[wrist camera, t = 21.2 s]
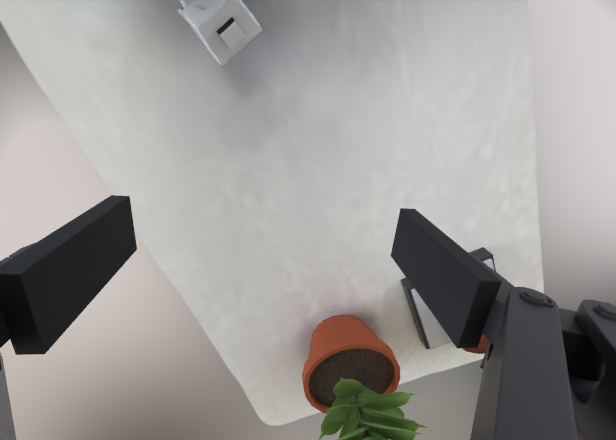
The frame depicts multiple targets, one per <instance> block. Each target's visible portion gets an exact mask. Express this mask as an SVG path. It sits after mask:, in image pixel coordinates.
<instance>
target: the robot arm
mask: <svg viewBox="0 0 616 440" xmlns="http://www.w3.org/2000/svg"><path fill="white" fill-rule="evenodd" d="M136 249H137V247H136V240H135V233H134V226H133V218H132V211H131V204H130V197H129V196H113V195H112V196H110V197H108V198H107V199H105V200H104V201H102V202H100V203H99V204H97V205H96V206H94V207H93V208H91V209H89V210H88V211H86V212H85V213H83V214H81V215H80V216H78V217H77V218H75V219H74V220H72V221H70V222H69V223H67V224H65V225H64V226H62V227H61V228H59V229H57V230H56V231H54V232H53V233H51V234H50V235H48V236H46V237H45V238H43V239H42V240H40V241H39V242H37V243H34V244H31V245H29V246H26V247H23V248H21V249H19V250H18V251H16V252H15V253H13V254H11V255H10V256H9V257H7V258H5V259H3V260H2V261H0V348H1V347H2V346H3V345H4V344H5V343H6V342H7V341H8V340H9V339H11V342H12V345H13V348H14V350H15V353H16V354H18V355H20V354H45V353H46V352H47V351H48V350H49V349H50V347H51V346H52V345H53V344H54V343H55V342H56V341H57V339H58V338H59V337H60V336H61V335H62V334H63V332H65V330H66V329H67V328H68V327H69V326H70V325H71V324H72V322H73V321H74V320H75V319H76V318H77V317H78V315H80V313H81V312H82V311H83V310H84V309H85V308H86V307H87V305H88V304H89V303H90V302H91V301H92V300H93V299H94V297H95V296H96V295H97V294H98V293H99V292H100V291H101V289H102V288H103V287H104V286H105V285H106V284H107V283H108V281H109V280H110V279H111V278H112V277H113V276H114V275H115V274H116V272H117V271H118V270H119V269H120V268H121V267H122V266H123V265H124V263H125V262H126V261H127V260H128V259H129V257H131V255H132V254H133V253H134V252H135V251H136ZM391 257H392V258H393V259H394V261H395V262H396V263H397V265H398V266H399V268H400V269H401V270H402V272H403V273H404V275H405V276H406V277H407V279H408V280H409V282H410V283H411V284H412V286H413V287H414V289H415V290H416V291H417V293H418V294H419V296H420V297H421V298H422V300H423V301H424V303H425V304H426V305H427V307H428V308H429V310H430V311H431V312H432V314H433V315H434V317H435V318H436V319H437V321H438V322H439V323H440V325H441V326H442V328H443V329H444V330H445V332H446V333H447V335H448V336H449V337H450V339H451V340H452V342H453V343H454V344H455V346H456V347H457V348H477V347H478V345H479V342H480V339H481V337H482V334H484V336H485V337H486V338H487V339H488V340H489V341H490V343H489V346H488V348H487V351H486V354H485V356H484V359H483V361H482V364H481V366H480V367H481V368H482V369H483V373H482V379H481V384H480V390H479V395H478V401H477V406H476V412H475V417H474V423H473V428H472V434H471V439H470V440H578V435H577V429H576V423H577V425H578V427H579V429H580V431H581V433H582V436H583V438H584V440H616V306H614V305H613V306H612V305H611V304H609V303H603V302H600V301H595V300H584V301H582V303H581V304H580V306H579V308H578V310H577V311H572V310H566V309H561V308H558V306H557V304H556V302H554V301H553V300H552V299H551V298H550V297H548V296H546V295H544V294H543V293H540V292H538V291H535V290H533V289H529V288H525V287H514V286H513V285H511V284H510V283H509V282H508V281H507V280H505V279H504V278H503V277H502V276H500V275H499V274H498V273H497V272H494V270H493V269H492V268H490V267H489V266H487V264H485V263H484V262H483V261H482V260H481V259H479V258H477V257H476V256H474V255H472V254H470V253H468V252H466V251H465V250H464V249H462V248H461V247H460V246H459V245H458V244H456V243H455V242H454V241H453V240H452V239H450V238H449V237H448V236H447V235H446V234H444V233H443V232H442V231H441V230H439V229H438V228H437V227H436V226H435V225H433V224H432V223H431V222H430V221H429V220H427V219H426V218H425V217H424V216H423V215H421V214H420V213H419V212H418V211H416V210H415V209H400V214H399V219H398V224H397V229H396V233H395V238H394V243H393V248H392V253H391ZM575 420H576V422H575ZM0 440H16V436H15V430H14V424H13V418H12V413H11V406H10V400H9V394H8V388H7V382H6V376H5V371H4V365H3V359H2V356H1V353H0Z"/></svg>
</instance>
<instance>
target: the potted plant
mask: <svg viewBox="0 0 616 440" xmlns="http://www.w3.org/2000/svg"><path fill="white" fill-rule="evenodd" d="M302 377H303V387H304V391H305V396H306V398H307V399H308V401H309V402H310V404H311V405H312V406H313V407H315V408H316V409H318V410H319V411H321V412H323V413H326V414H327V415H326V417H325V419H324V420H323V423H322V426H321V432H322V433H321V436H320V438H319V440H320V439H321V438H322V437H323V435H332V434H335V433H336V432H337V431H338V430H339V429H340V428H341V426H342V425H343V427H342V430H341V433H340V436H339V439H338V440H388V439H391V440H413V439H414V437H415V434H420V433H416V432H415V431H416V430H417V428H418V427H425V426H422V425H420V424H418V423H416V422H415V421H412V420H409V419H405V418H404V414H403V412H402V411H401V409H400V408H398V407H399V406H402V405H404V404H406V403H407V402H408V401H409V398H410V396H411V395H414V394H416V393H405V392H395V393H394V391H395V390H396V388H397V386H398V383H399V380H400V367H399V365H398V363H397V361H396V359H395V356H394V354H393V353H392V351H391V349H390V347H389V346H387V345H386V344H385V343H384V342H383V341H381V340H380V339H378V338H377V336H376V335H375V334H374V333H373V332H372V331H371V330H370V328H369V327H368V326H367V325H366V324H365V323H364V322H363V321H362V320H361V319H359V318H357V317H354V316H352V315H338V316H333V317H331V318H328V319H326V320H324V321H323V322H322V323H321V324H319V325H318V326H317V328H316V329H315V331H314V332H313V336H312V340H311V346H310V351H309V357H308V360H307V361H306V363H305V365H304V370H303V374H302ZM426 428H427V427H426Z"/></svg>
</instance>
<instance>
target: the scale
mask: <svg viewBox="0 0 616 440" xmlns="http://www.w3.org/2000/svg"><path fill="white" fill-rule="evenodd" d="M470 254H472V255H474V256H476V257H477V258H479V259H481V260H482V261H483V262H484V263H485V264H487V266H489V267H490V268H492V269H493V270H494V272H496V271H495V265H494V259H493V254H491V253H490V252H488V251H487V250H486V249H484V248H481V249H478V250H475V251H473V252H470ZM401 282H402V285H403V288H404V291H405V294H406V297H407V300H408V303H409V306H410V309H411V312H412V315H413V318H414V321H415V324H416V327H417V330H418V333H419V336H420V339H421V341H422V342H423V344H424V346H425V347H426V349H432V348H435V347H438V346H440V345H443V344H446V343H448V342H451V341H452V340H451V339H450V337H449V336H448V335H447V333H446V332H445V330H444V329H443V328H442V326H441V325H440V323H439V322H438V321H437V319H436V318H435V317H434V315H433V314H432V312H431V311H430V310H429V308H428V307H427V305H426V304H425V303H424V301H423V300H422V298H421V297H420V296H419V294H418V293H417V291H416V290H415V289H414V287H413V286H412V284H411V283H410V282H409V280H408V279H407V278H405V279H402V280H401Z"/></svg>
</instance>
